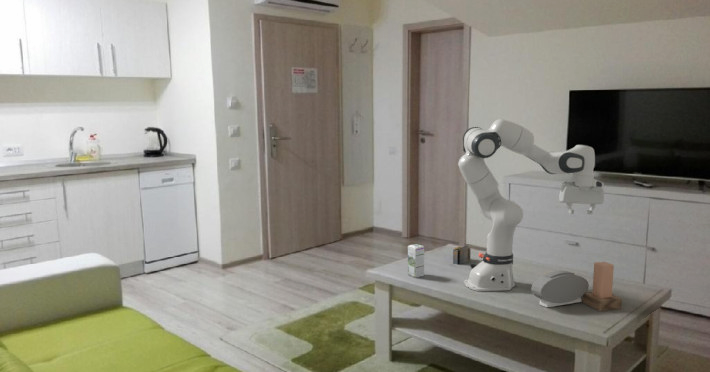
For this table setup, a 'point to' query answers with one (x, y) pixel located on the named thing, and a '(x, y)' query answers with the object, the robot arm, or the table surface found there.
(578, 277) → the alarm clock
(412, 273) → the syrup box
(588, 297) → the block
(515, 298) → the table surface
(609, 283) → the terracotta block
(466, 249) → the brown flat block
